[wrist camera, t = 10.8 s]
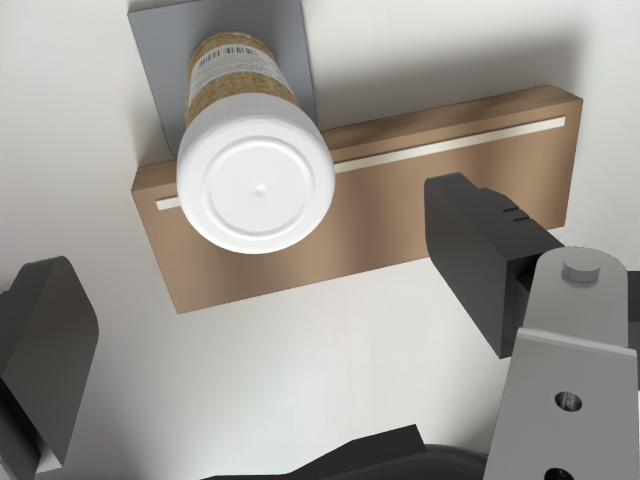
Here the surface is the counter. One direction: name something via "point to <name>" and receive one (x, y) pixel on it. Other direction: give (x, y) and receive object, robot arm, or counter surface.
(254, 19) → the grey pad
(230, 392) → the counter surface
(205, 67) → the sprinkles bottle
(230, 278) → the walnut board
